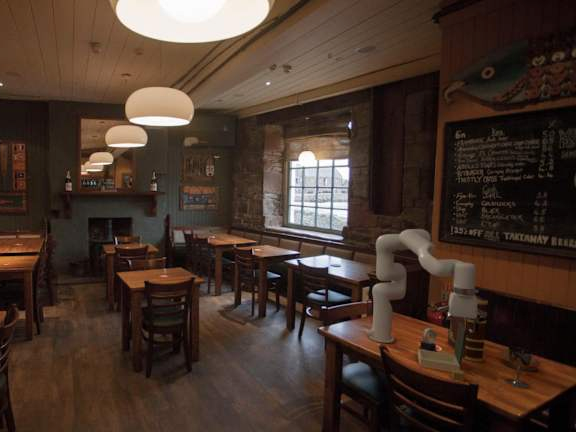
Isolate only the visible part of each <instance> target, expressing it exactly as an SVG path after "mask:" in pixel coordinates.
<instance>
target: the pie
mask: <svg viewBox="0 0 576 432" xmlns="http://www.w3.org/2000/svg"><path fill="white" fill-rule="evenodd" d="M498 357H499V358H500V359H501V360H502V362H503V364H505V365H506V366H508V367H510V368H512V369H513V370H516V368H515V367H514V366H513V365H512V363H511V362H510V360H509V355H508V350H505V351H499V352H498ZM541 364H542V363H541V361H540V360H539V359H537V358H536V357H534V356H532V361H531V363H530V365H529V366H528V367H526V368H525V369H523V370H522V372H523V371H524V372H533V371H535V370H537V368H538V367H540V366H541Z"/></svg>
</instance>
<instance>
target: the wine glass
mask: <svg viewBox="0 0 576 432" xmlns="http://www.w3.org/2000/svg"><path fill="white" fill-rule="evenodd" d="M507 351H508V355H509V360H510V362H511V363H512V365H513V366H514V367H515V368H516V369H515V370H516V379H508V380H507V381H506V382H507V383H508V384H509V385H511V386H513V387H516V388H520V389H529V388H530V387H529V384H527V383H526V382H523V381H521V380H520V376H521V374H522V373H521V372H523V369H525V368H526V367H528V366H529V365H530V363H531V361H532V357H533V351H532V350H530V349H527V348H523V347H520V346H509V347H508V350H507Z"/></svg>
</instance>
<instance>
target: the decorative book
mask: <svg viewBox="0 0 576 432" xmlns="http://www.w3.org/2000/svg"><path fill="white" fill-rule="evenodd" d="M451 292H453V289H451V290H450V293H451ZM475 295H476V299H477V309H479V310H481V311H483V312H485V313H486V314H487V315H488V312H487V308H488V307H487V306H488V305H489V301H488V300H486V299H485V298H482V297H480V296H478V295H477V294H475ZM481 316H482V314H480V313H478V312H477V319H478V318H479V317H481ZM486 319H487V317H486V318H485V319H484V320H483V321H482V322H480V323H479V329H478V330H477V333H475V332H474V333H475V335H474V336H472V335H471V334H467V333H466V338H465V344H464V350H463V356H462V358H464V359H465V360H467V361H470V362H471V361H472V362H477V363H480V362H484V360H485V359H484V351H485V342H486V339H485V332H486V324H487V320H486ZM474 321H475V320H474V319H470V318H462V317H454V316H453V317H451V318H450V329H448V330H447V331H448V332H447V343H448V345H450V347H452V349H454V350H455V345H456V339H457V333H458V326H459V322H461V323H462V325H463V326H464V328H465V329H472V330H473V324H474ZM466 332H469V331H466Z"/></svg>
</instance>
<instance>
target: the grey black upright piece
mask: <svg viewBox="0 0 576 432" xmlns="http://www.w3.org/2000/svg"><path fill="white" fill-rule="evenodd" d="M427 336H429V339H428V337H427ZM437 336H438V332H437V331H436V330H435V329H434V328H431V327H426V328H424V330H423V331H422V341H420V347H419V349H421V350H427V351H433V352H436V350H437V344H436V343H434V342H435V340H436V338H437Z"/></svg>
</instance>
